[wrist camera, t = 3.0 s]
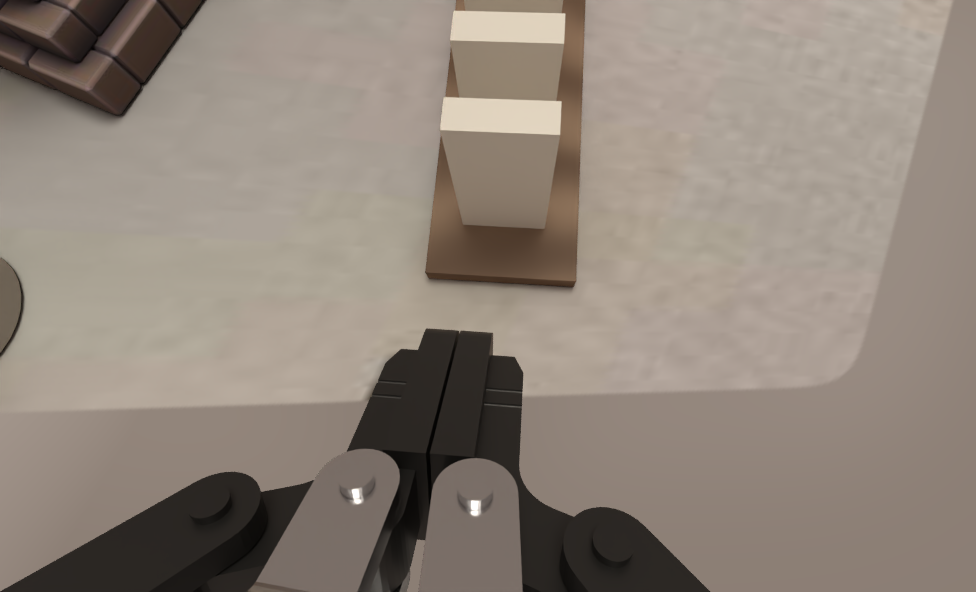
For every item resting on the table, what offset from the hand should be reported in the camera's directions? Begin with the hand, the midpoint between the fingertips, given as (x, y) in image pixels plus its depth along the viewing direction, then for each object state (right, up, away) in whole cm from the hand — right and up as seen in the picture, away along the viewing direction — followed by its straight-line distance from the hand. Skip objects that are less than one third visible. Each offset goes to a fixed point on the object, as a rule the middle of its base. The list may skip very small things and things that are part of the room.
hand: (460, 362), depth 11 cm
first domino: (+2, +6, +19) cm, 20 cm away
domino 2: (+2, +11, +20) cm, 23 cm away
